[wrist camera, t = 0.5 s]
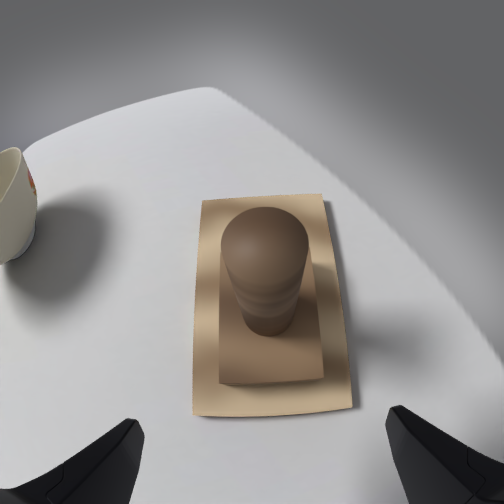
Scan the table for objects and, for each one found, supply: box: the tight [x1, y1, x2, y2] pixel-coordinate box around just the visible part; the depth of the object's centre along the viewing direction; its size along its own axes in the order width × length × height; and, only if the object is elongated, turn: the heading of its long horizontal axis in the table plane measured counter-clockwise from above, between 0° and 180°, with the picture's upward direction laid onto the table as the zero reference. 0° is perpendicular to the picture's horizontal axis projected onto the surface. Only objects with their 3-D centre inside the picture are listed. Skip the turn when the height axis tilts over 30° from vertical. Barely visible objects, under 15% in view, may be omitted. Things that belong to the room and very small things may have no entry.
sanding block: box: [219, 207, 324, 385], centre depth 17 cm, size 10×7×12 cm
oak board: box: [193, 194, 352, 417], centre depth 24 cm, size 20×12×1 cm, turn 2°
